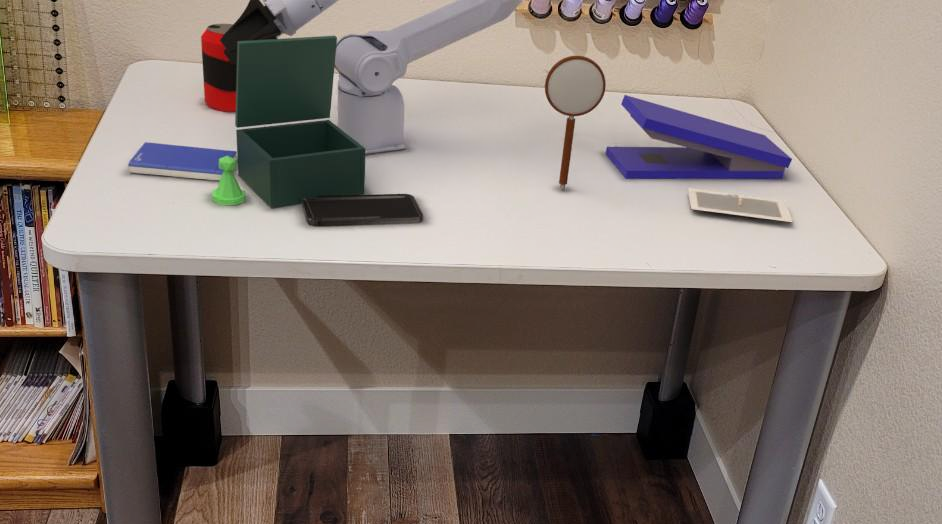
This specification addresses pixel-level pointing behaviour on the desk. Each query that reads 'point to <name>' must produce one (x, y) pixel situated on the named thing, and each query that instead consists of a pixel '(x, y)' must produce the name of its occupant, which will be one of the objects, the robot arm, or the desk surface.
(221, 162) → the game piece
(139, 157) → the hard drive
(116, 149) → the desk surface
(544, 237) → the desk surface
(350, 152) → the bin
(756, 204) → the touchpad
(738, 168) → the stapler
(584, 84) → the magnifying glass
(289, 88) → the bin lid
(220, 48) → the soda can
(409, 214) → the phone
